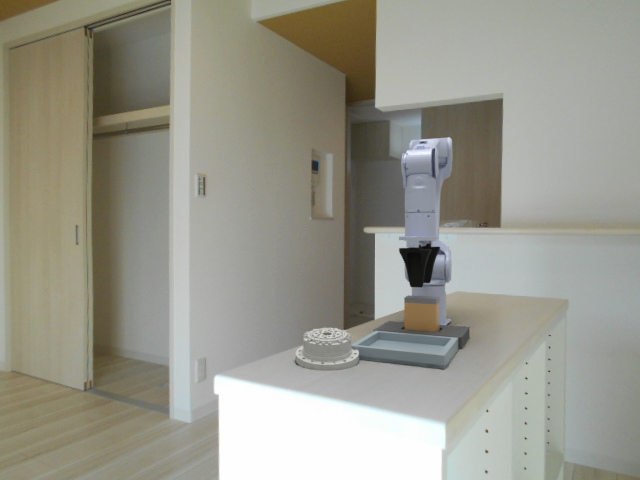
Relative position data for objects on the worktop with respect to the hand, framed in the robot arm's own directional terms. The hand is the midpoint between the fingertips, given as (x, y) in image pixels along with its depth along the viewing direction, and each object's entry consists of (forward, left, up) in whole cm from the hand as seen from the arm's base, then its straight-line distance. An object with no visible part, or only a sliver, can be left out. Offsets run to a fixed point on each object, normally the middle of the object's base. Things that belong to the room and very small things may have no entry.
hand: (420, 285), depth 86 cm
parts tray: (+12, 0, -10) cm, 15 cm away
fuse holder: (0, 0, -10) cm, 10 cm away
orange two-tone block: (0, 0, -10) cm, 10 cm away
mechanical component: (+21, -10, -11) cm, 25 cm away
